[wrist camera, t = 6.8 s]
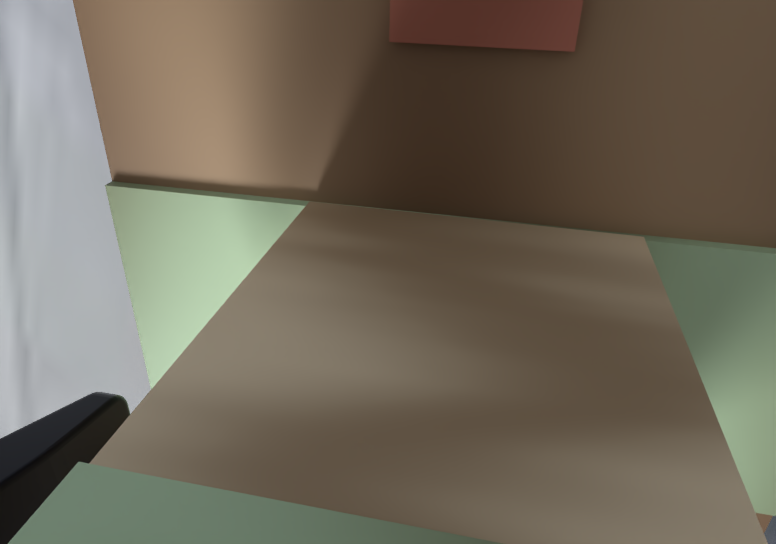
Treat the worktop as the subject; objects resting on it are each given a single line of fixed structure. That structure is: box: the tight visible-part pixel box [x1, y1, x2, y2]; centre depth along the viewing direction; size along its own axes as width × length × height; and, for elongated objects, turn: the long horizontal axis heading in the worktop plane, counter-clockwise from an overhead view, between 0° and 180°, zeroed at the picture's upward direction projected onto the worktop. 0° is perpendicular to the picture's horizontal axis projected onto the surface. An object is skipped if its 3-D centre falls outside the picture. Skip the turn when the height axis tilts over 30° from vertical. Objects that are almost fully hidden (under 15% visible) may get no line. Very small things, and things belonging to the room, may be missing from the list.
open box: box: [73, 0, 776, 533], centre depth 11 cm, size 12×12×4 cm
